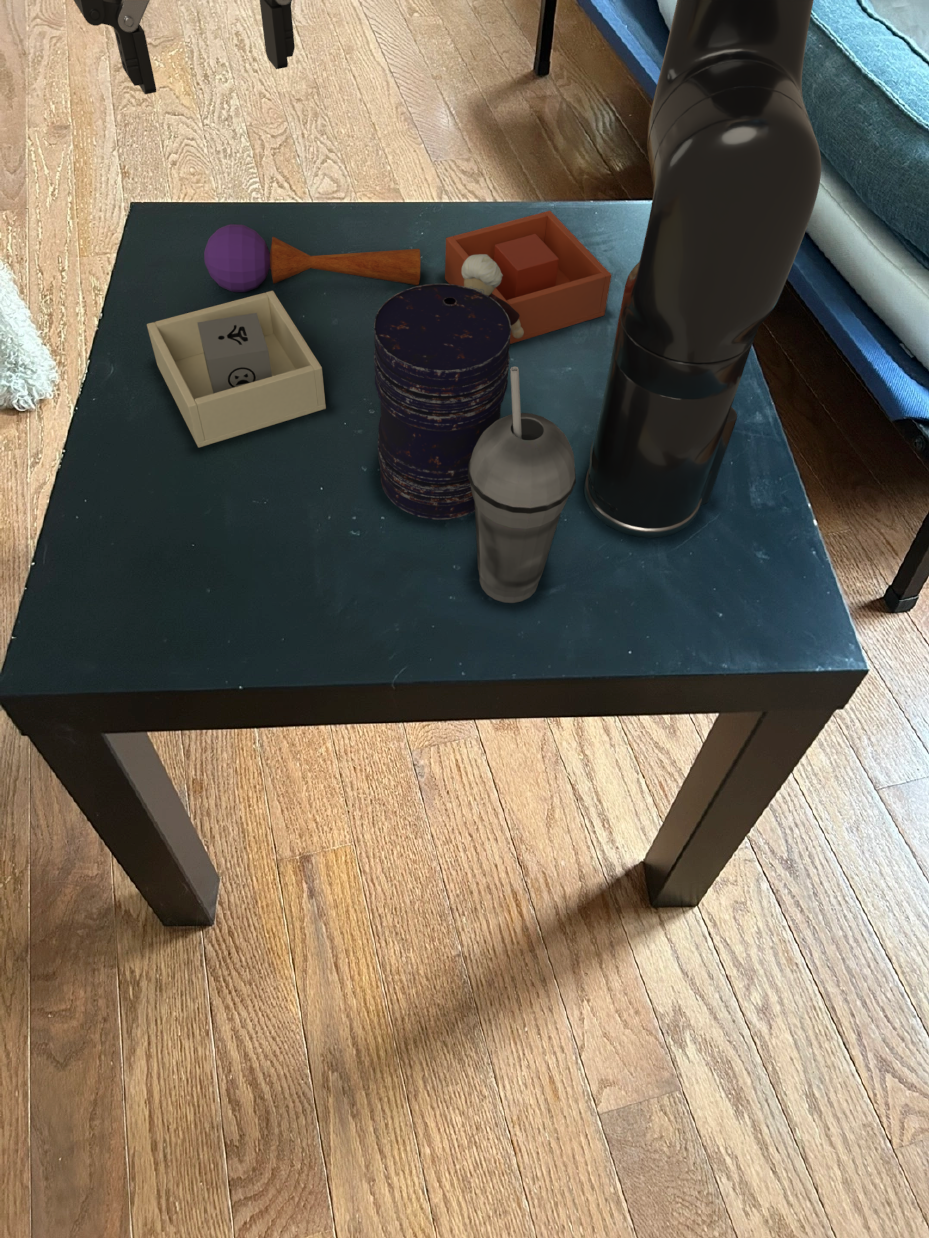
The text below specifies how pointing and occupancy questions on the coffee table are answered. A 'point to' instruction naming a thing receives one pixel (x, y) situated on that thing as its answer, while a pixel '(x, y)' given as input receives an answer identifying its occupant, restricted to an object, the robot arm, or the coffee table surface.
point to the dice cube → (234, 351)
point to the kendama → (295, 261)
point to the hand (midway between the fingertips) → (213, 75)
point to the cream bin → (245, 405)
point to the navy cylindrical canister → (437, 392)
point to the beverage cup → (518, 498)
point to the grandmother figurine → (489, 285)
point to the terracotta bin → (576, 280)
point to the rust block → (525, 266)
